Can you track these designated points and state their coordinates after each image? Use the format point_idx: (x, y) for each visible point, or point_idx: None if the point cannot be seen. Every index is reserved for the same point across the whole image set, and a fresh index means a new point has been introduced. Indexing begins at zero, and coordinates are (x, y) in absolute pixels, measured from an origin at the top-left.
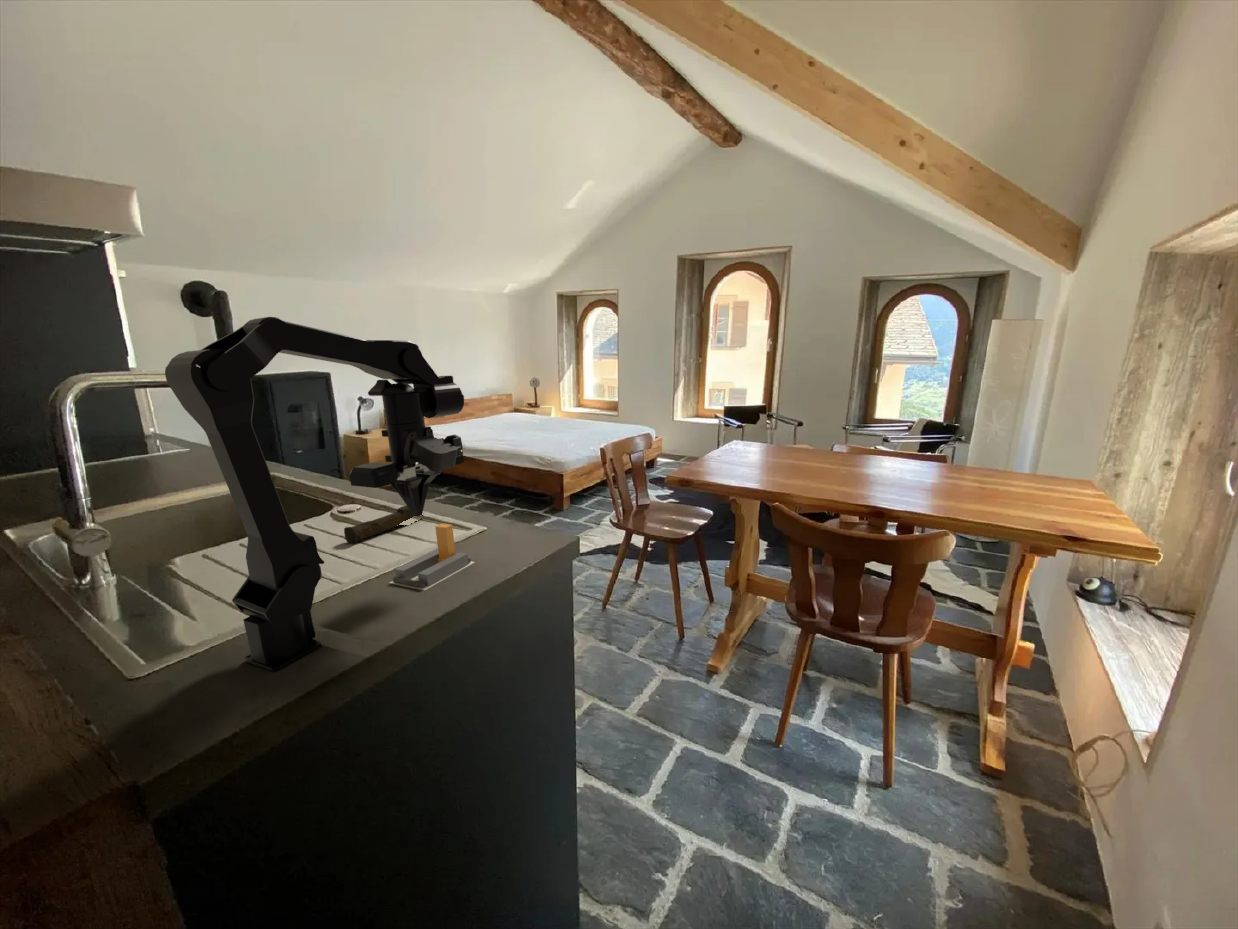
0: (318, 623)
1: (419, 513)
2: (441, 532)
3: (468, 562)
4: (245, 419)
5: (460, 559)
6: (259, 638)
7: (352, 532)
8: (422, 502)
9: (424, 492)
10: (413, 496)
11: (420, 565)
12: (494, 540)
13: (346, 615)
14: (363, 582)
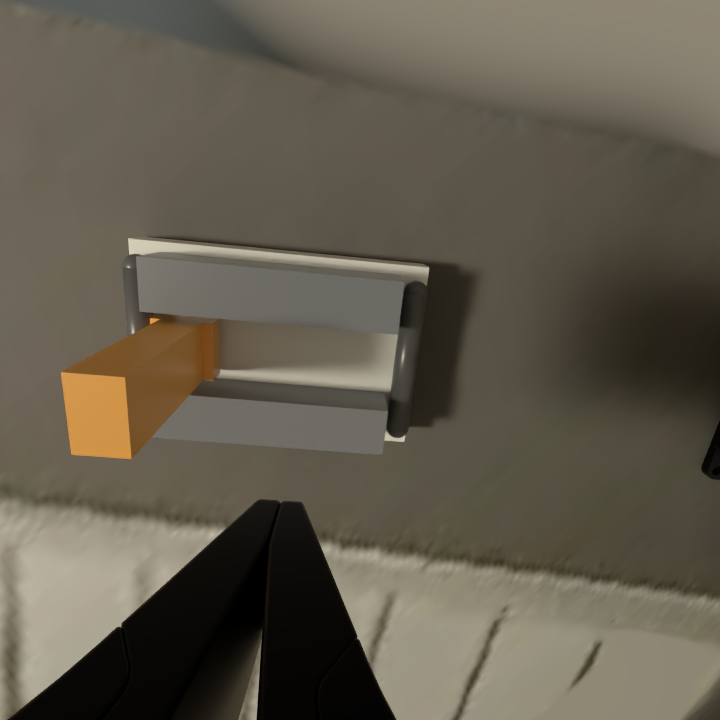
0: (620, 468)
1: (290, 508)
2: (145, 400)
3: (155, 252)
4: None
5: (192, 260)
6: None
7: None
8: (226, 569)
9: (139, 671)
10: (371, 679)
11: (300, 398)
12: None
13: (568, 432)
14: (367, 547)
